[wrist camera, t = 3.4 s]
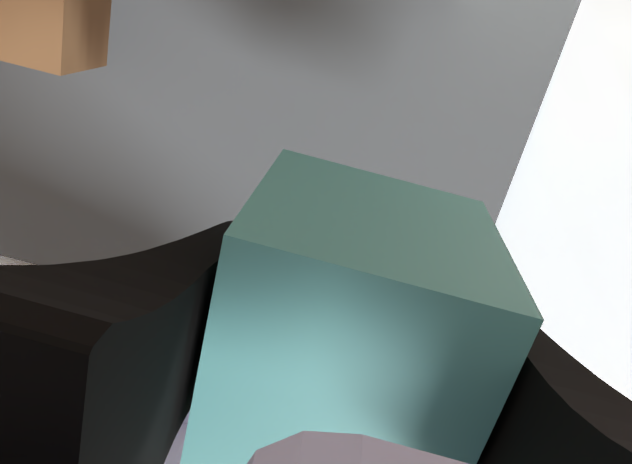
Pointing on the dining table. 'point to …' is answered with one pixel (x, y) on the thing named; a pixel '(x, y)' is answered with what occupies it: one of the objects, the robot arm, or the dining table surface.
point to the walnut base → (55, 34)
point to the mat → (265, 112)
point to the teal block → (358, 317)
